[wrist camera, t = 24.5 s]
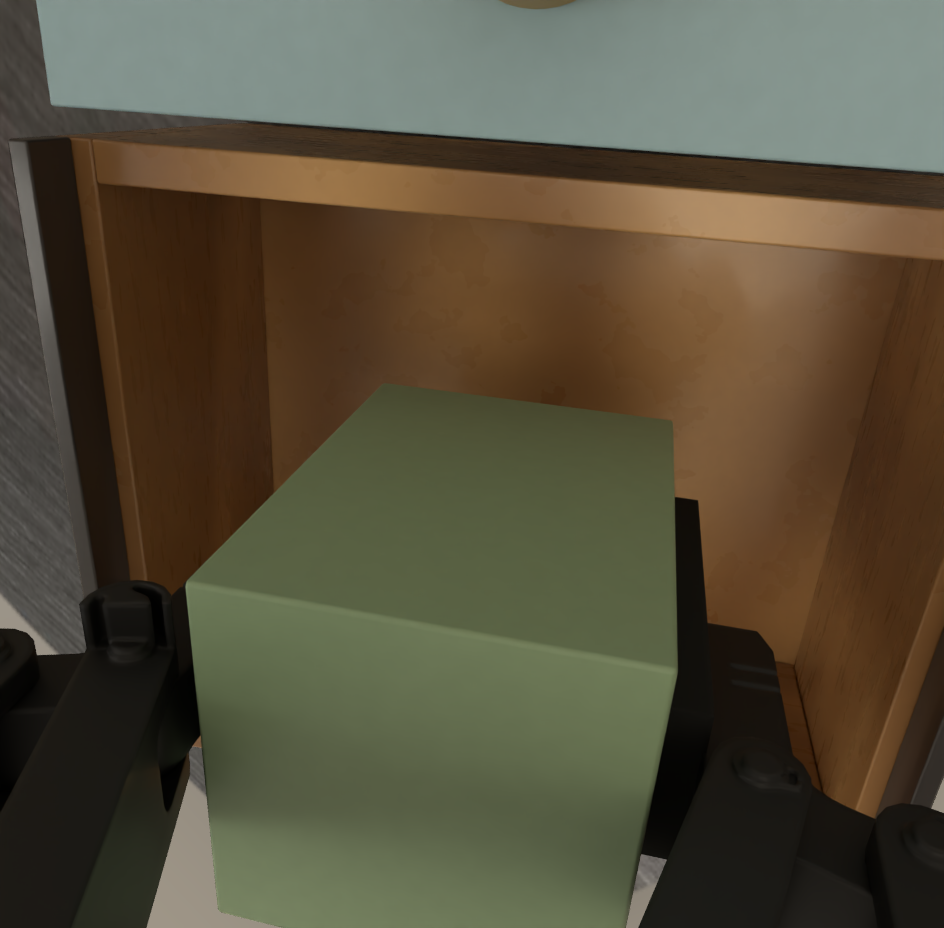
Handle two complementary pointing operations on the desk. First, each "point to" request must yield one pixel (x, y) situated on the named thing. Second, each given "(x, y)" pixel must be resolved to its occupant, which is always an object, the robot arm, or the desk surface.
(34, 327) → the desk surface
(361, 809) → the block
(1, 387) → the desk surface
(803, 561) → the case
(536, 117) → the slide top
